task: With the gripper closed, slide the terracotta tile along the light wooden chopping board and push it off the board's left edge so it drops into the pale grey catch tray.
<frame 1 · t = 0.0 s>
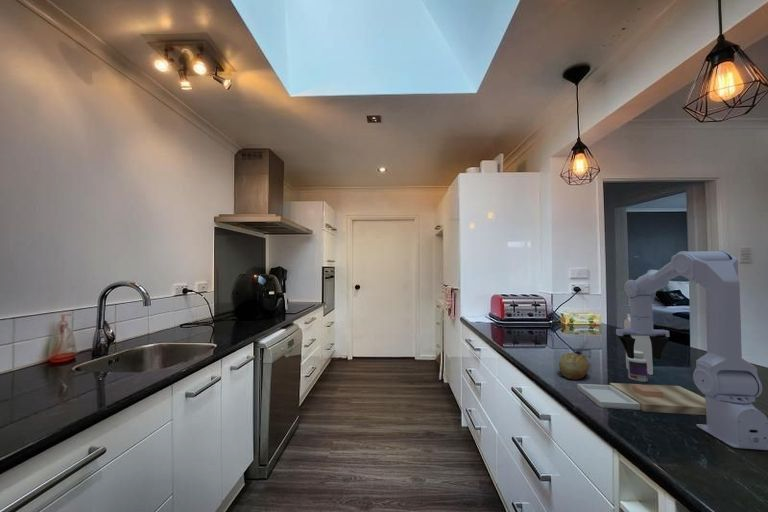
hand: (643, 358, 98), 10 cm above the worktop, tool pointing down, fingers open, 7 cm apart
catch tray: (606, 398, 91), on the worktop
bread roll: (574, 375, 112), on the worktop
pill bottle: (638, 379, 107), on the worktop
milk: (639, 372, 114), on the worktop
chopping board: (662, 401, 89), on the worktop
terracotta tile: (647, 393, 89), point 2 cm above the worktop, touching chopping board
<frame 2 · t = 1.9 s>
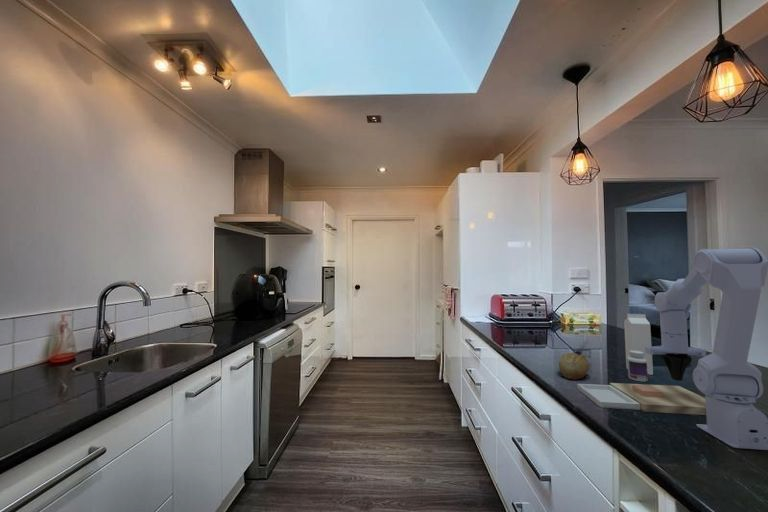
hand: (676, 379, 88), 7 cm above the worktop, tool pointing down, fingers closed
nothing on the worktop moved.
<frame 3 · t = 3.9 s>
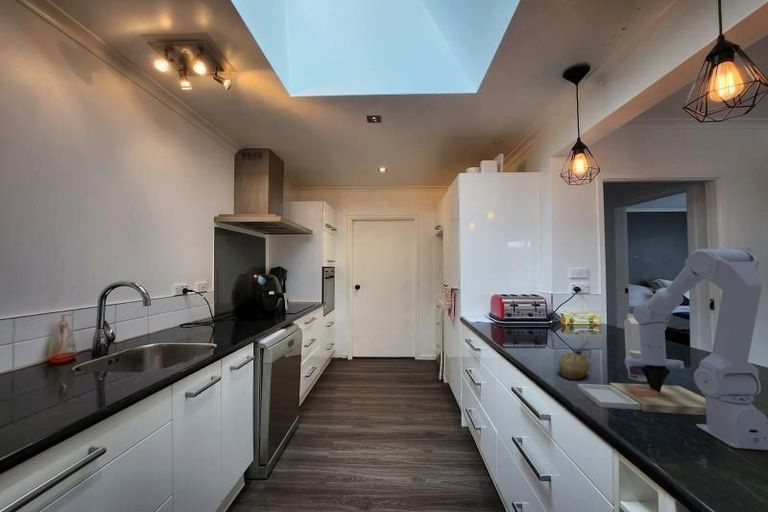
hand: (655, 391, 89), 3 cm above the worktop, tool pointing down, fingers closed
terracotta tile: (642, 393, 90), point 2 cm above the worktop, touching chopping board, gripper
everything else where it was.
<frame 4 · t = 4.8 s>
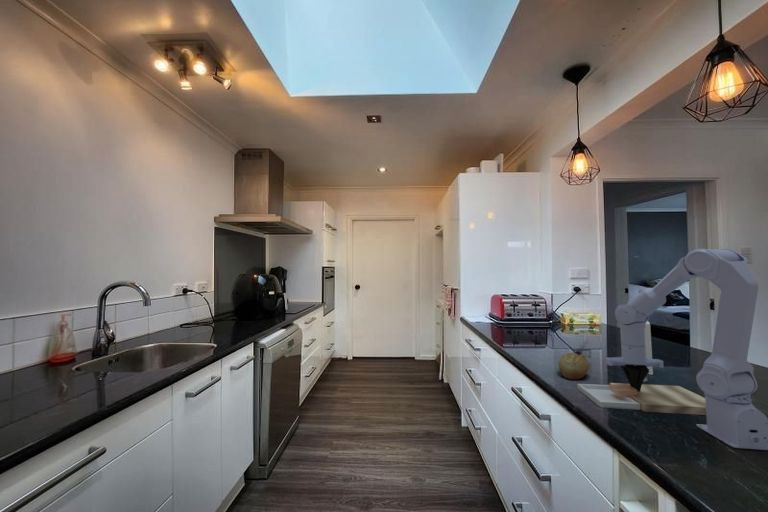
hand: (635, 390, 90), 3 cm above the worktop, tool pointing down, fingers closed
terracotta tile: (623, 392, 91), point 2 cm above the worktop, tilted 7°, touching gripper
everything else where it was.
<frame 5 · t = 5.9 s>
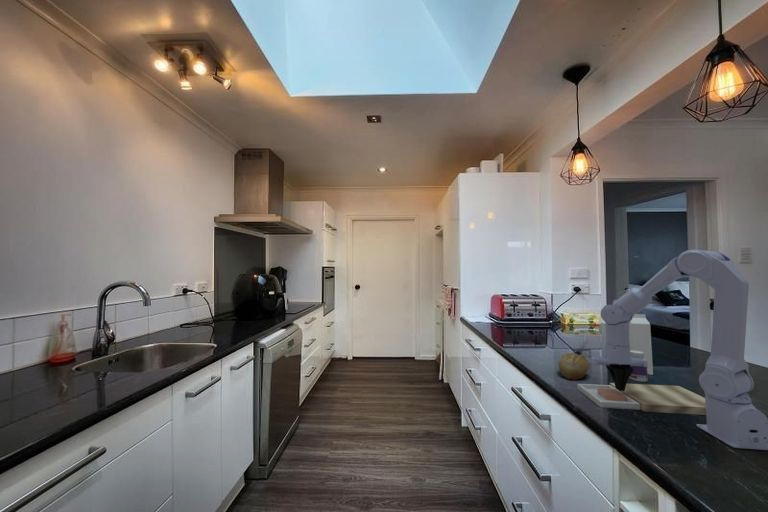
hand: (620, 389, 91), 3 cm above the worktop, tool pointing down, fingers closed
terracotta tile: (611, 397, 91), resting on catch tray
everything else where it was.
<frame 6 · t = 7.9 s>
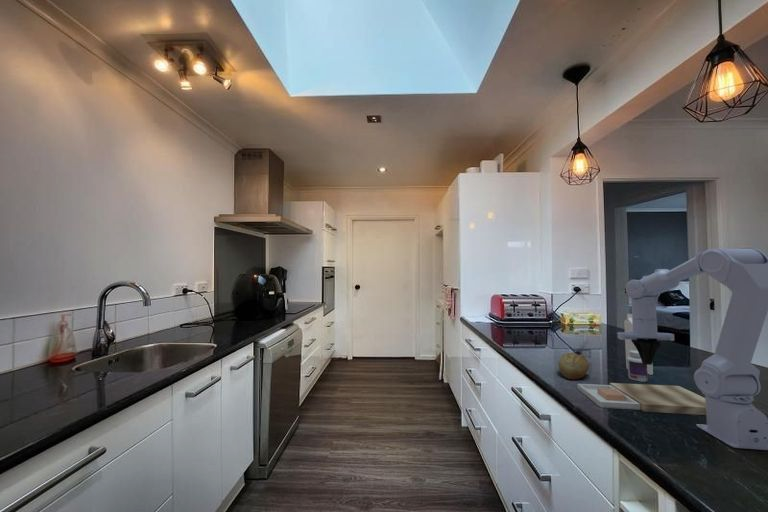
hand: (646, 363, 91), 10 cm above the worktop, tool pointing down, fingers closed
nothing on the worktop moved.
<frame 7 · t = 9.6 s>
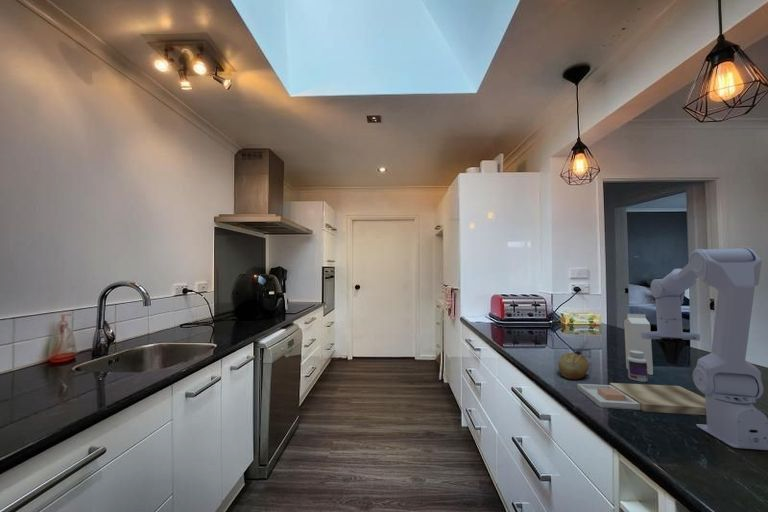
hand: (671, 363, 91), 10 cm above the worktop, tool pointing down, fingers closed
nothing on the worktop moved.
at the end: terracotta tile inside the target area on the catch tray (1.4 cm from its centre), point 0.4 cm above the catch tray's base; terracotta tile moved 10.0 cm from its start; the gripper is holding nothing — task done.
